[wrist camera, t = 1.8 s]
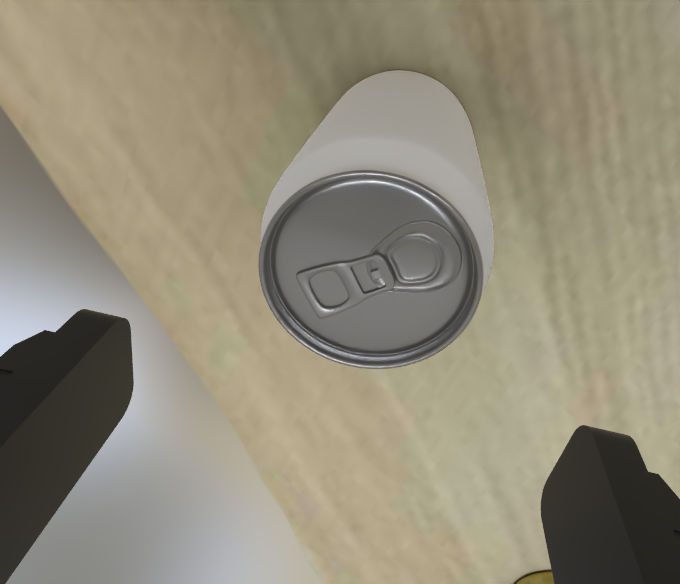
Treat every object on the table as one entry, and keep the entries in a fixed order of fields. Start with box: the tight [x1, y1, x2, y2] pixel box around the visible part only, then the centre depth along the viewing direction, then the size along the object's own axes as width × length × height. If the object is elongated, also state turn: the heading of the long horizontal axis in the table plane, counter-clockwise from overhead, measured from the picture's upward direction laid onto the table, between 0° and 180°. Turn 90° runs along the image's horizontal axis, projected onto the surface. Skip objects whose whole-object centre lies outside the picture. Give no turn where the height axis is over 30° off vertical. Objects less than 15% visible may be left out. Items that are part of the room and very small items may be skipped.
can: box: [259, 70, 494, 369], centre depth 18 cm, size 6×6×12 cm
